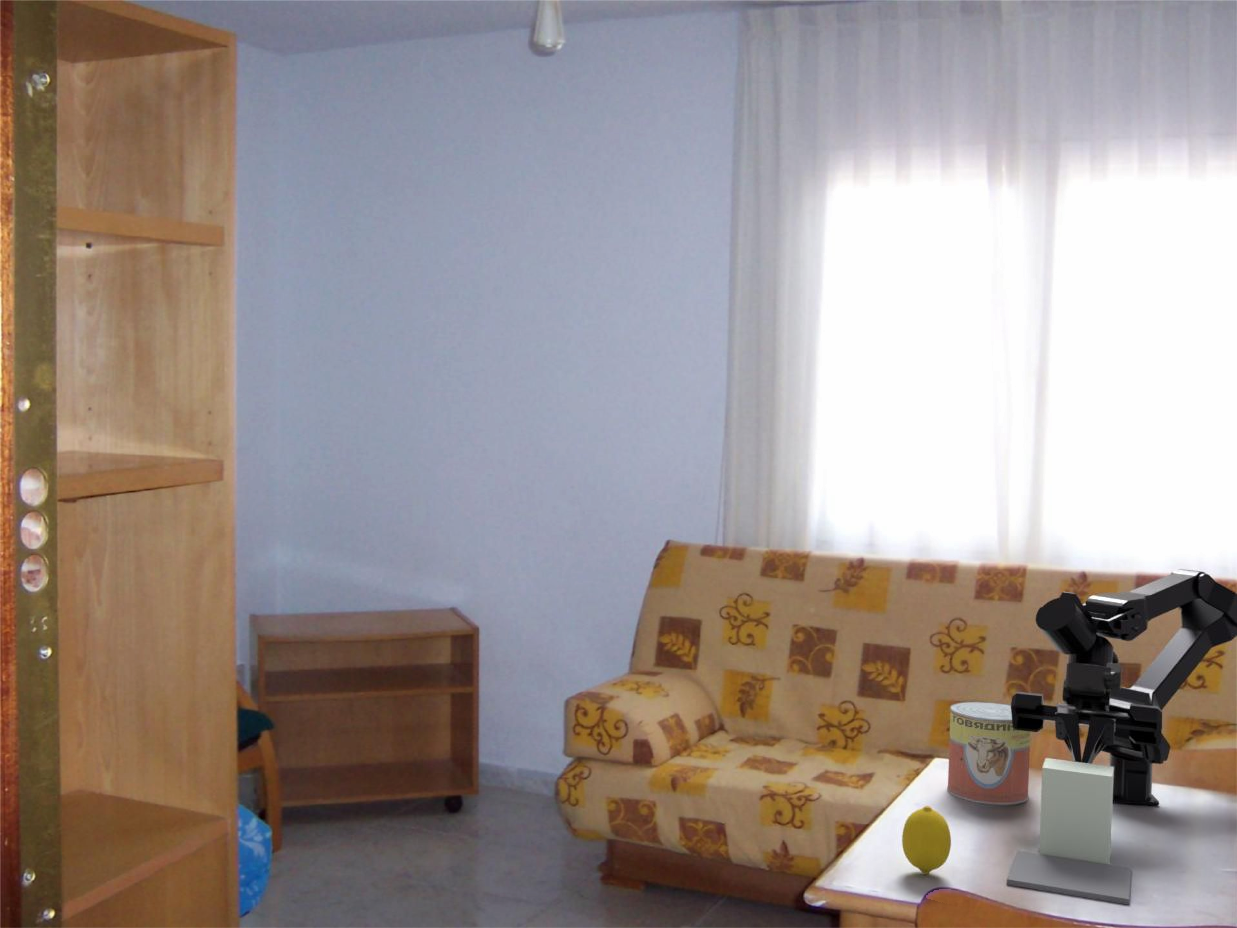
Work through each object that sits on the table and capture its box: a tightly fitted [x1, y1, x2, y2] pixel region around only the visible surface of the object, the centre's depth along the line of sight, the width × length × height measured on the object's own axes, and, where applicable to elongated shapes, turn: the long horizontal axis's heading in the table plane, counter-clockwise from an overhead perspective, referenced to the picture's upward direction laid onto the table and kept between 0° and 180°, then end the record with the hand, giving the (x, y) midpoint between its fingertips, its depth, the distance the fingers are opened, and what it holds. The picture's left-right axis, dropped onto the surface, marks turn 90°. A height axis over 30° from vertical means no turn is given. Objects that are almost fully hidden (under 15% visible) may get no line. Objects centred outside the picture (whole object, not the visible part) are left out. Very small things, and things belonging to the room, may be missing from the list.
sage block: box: [1038, 757, 1114, 864], centre depth 153 cm, size 5×8×11 cm, turn 66°
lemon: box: [901, 805, 952, 875], centre depth 145 cm, size 6×6×8 cm
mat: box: [1006, 849, 1132, 905], centre depth 145 cm, size 11×13×1 cm
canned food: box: [946, 701, 1031, 806], centre depth 179 cm, size 11×11×12 cm
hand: (1080, 773), depth 161 cm, fingers closed
